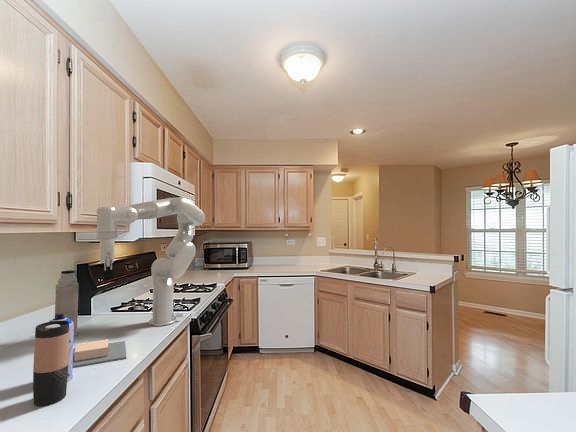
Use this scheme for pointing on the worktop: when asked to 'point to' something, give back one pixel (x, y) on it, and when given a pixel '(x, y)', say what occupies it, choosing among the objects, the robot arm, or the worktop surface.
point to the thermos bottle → (67, 297)
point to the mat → (114, 353)
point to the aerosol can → (71, 333)
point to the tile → (91, 350)
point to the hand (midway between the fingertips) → (108, 279)
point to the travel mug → (50, 362)
